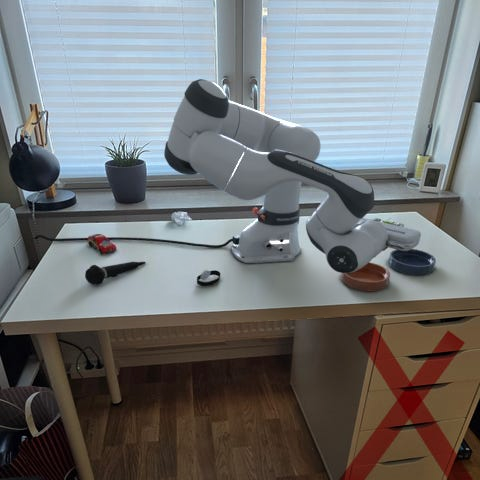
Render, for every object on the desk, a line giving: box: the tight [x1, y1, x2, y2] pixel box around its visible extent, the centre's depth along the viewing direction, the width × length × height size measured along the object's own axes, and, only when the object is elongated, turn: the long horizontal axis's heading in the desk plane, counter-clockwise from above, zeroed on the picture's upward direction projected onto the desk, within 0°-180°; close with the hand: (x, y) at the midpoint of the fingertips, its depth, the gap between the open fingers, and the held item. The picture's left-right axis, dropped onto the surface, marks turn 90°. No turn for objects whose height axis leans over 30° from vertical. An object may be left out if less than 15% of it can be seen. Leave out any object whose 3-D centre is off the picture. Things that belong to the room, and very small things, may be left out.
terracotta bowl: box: [340, 261, 391, 292], centre depth 127 cm, size 13×13×3 cm
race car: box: [87, 233, 117, 256], centre depth 145 cm, size 13×5×4 cm, turn 39°
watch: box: [196, 269, 221, 287], centre depth 126 cm, size 8×5×4 cm, turn 132°
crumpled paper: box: [170, 211, 193, 226], centre depth 166 cm, size 8×4×7 cm
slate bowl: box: [388, 248, 437, 276], centre depth 136 cm, size 13×13×3 cm
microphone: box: [84, 261, 146, 286], centre depth 129 cm, size 6×6×20 cm
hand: (389, 223), depth 120 cm, fingers closed on strawberry, 5 cm apart
